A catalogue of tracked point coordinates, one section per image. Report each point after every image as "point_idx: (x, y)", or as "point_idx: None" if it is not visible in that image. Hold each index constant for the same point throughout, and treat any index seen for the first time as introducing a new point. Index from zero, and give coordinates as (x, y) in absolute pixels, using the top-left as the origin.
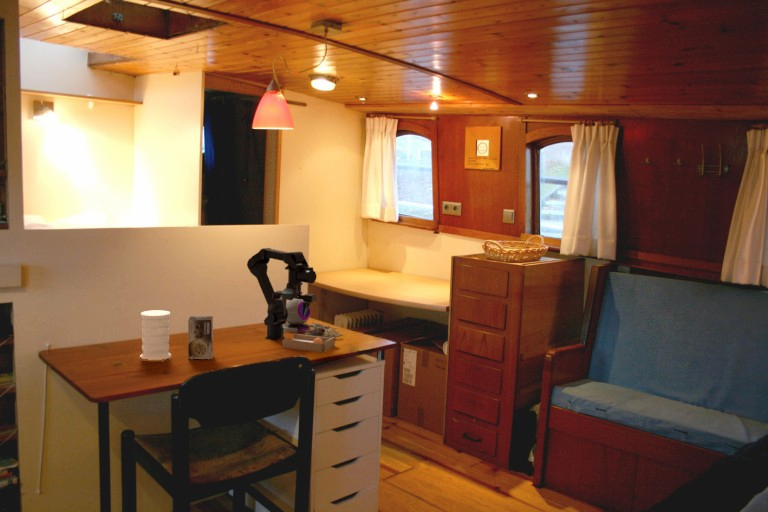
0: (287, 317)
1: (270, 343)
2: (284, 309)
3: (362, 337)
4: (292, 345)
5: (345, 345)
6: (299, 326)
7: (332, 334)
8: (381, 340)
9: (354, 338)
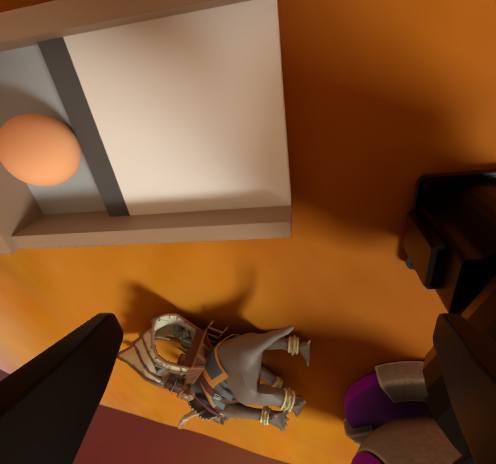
0: None
1: (445, 46)
2: (494, 422)
3: None
4: None
5: (24, 261)
6: (390, 419)
7: (137, 343)
8: (10, 372)
9: None
